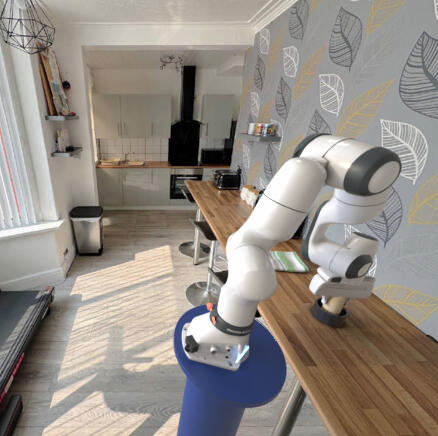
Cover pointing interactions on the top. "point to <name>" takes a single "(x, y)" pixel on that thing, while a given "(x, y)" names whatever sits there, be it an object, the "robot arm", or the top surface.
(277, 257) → the dish towel
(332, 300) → the candle
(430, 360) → the top surface
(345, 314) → the holder
